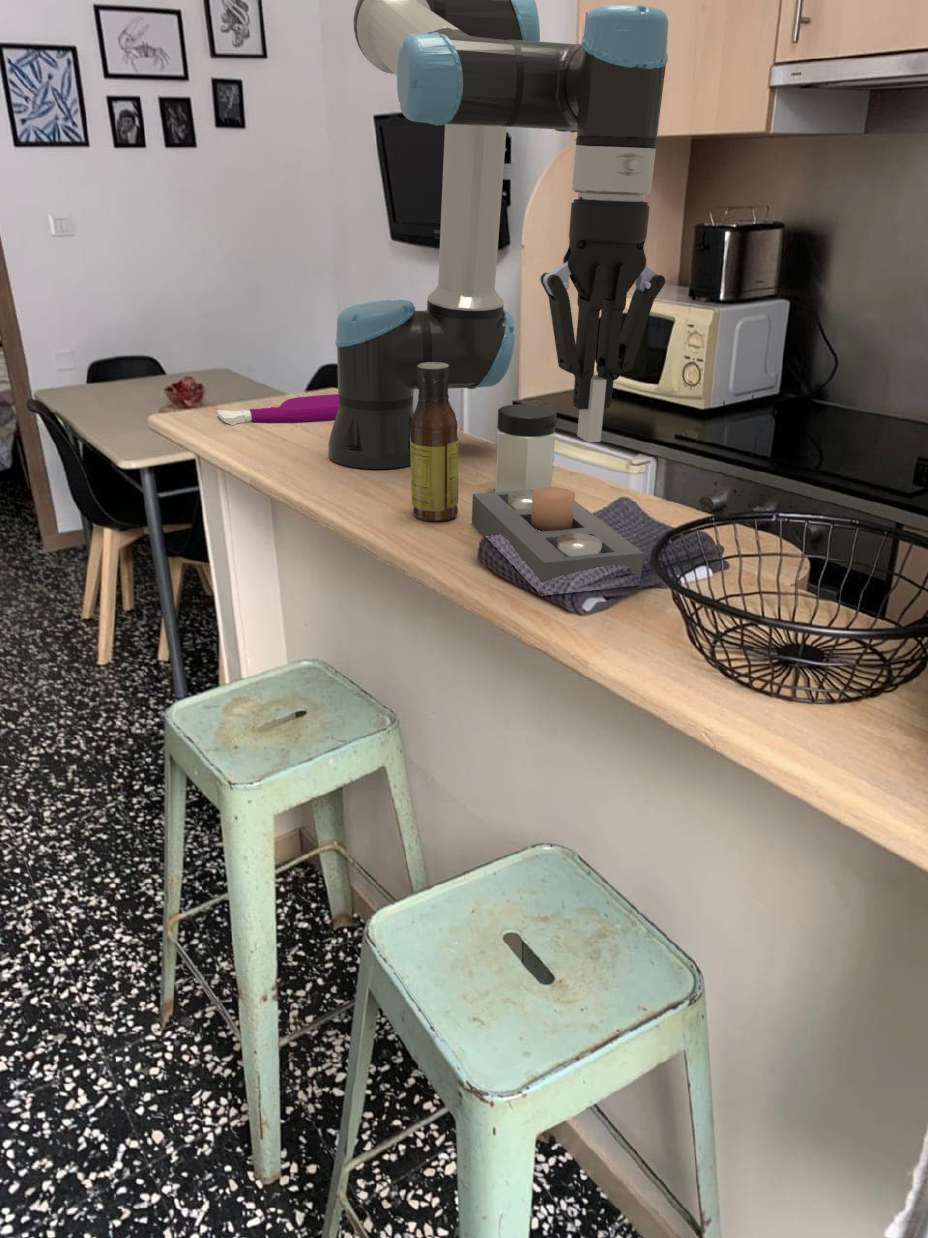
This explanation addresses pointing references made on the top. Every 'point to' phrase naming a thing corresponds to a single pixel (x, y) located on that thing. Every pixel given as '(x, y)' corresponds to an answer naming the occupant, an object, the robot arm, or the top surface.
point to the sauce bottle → (434, 447)
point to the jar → (524, 447)
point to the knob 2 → (579, 544)
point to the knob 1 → (520, 500)
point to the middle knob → (552, 508)
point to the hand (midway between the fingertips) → (588, 438)
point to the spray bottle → (288, 411)
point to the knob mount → (551, 538)
